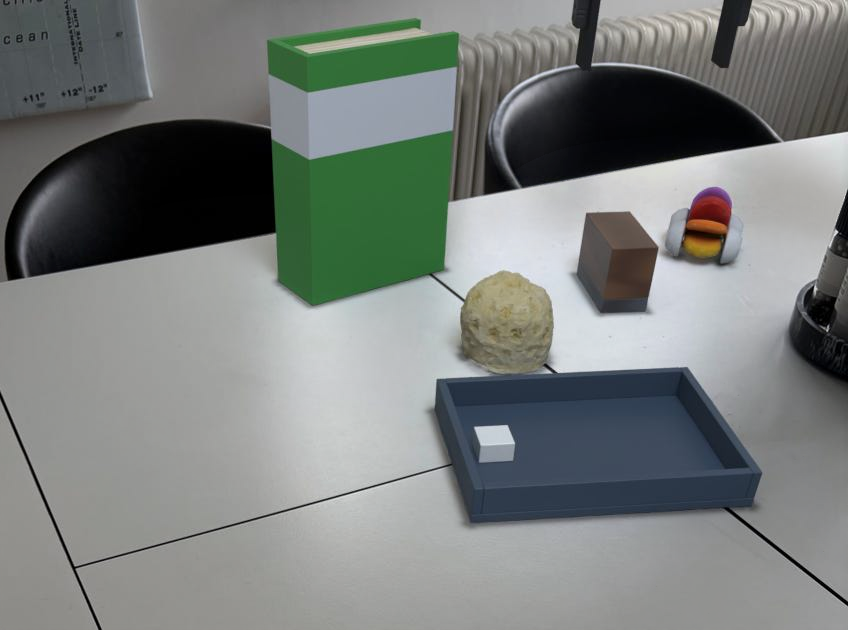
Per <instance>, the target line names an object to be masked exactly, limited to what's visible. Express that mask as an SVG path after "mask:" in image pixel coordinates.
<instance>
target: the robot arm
mask: <svg viewBox="0 0 848 630" xmlns="http://www.w3.org/2000/svg"><path fill="white" fill-rule="evenodd" d="M601 1H602V0H573V3H572V12H571V17H570V18H571V23H572V24H571V25H572V26H573V27H574V28H575V29H576V30H579V32H578V41H577V48H576V54H575V62H574V63H575V64H576V66H578V68H579V69H580V70H582V71H583V72H585V71H586V72H588V71H589V72H590V71H591V70H592V65H593V57H594V49H595V42H596V35H597V29H598V23H599V15H600V14H599V13H600V9H601ZM752 4H753V0H723V1H722V6H721V12H720V14H719V15H720V16H719V22H718V25H717V30H716V34H715V39H714V44H713V49H712V53H711V57H710V58H711V59H710V62H711V63H712V64H714V65H716V66H717V67H719V68H720V69H729V67H730V63H731V58H732V54H733V50H734V46H735V40H736V36H737V31H738V27H745V26H746V24H747V22H748V20H749V17H750V12H751V8H752Z"/></svg>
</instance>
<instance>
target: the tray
mask: <svg viewBox="0 0 848 630" xmlns="http://www.w3.org/2000/svg"><path fill="white" fill-rule="evenodd" d="M434 413H435V416H436V419H437V422H438V425H439V428H440V432H441V435H442V438H443V441H444V444H445V447H446V450H447V453H448V456H449V459H450V463H451V466H452V469H453V472H454V475H455V478H456V482H457V485H458V487H459V490H460V493H461V497H462V500H463V502H464V505H465V509H466V512H467V516H468V519H469V521H470V523H471V524H477V523H494V522H508V521H509V522H510V521H524V520H525V521H527V520H541V519H556V518H557V519H559V518H560V519H561V518H573V517H575V518H577V517H591V516H592V517H593V516H605V515H622V514H624V515H625V514H639V513H657V512H671V511H672V512H673V511H674V512H675V511H689V510H704V509H705V510H706V509H721V508H737V507H738V508H739V507H752V506H753V504H754V501H755V497H756V494H757V492H758V488H759V485H760V482H761V478H762V476H763V471H762V469H761V468H760V467H759V465H758V464H757V462H756V461H755V460H754V458H753V457H752V455H751V454H750V453H749V450H747V448H746V447H745V446H744V443H742V441H741V439H740V438H739V437H738V436H737V434H736V433H735V431H734V430H733V429H732V427H731V426H730V424H729V423H728V422H727V420H726V419H725V418H724V416H723V415H722V414H721V412H720V410H719V409H718V408H717V406H716V405H715V403H714V401H712V399H711V398H710V396H709V395H708V394H707V392H706V390H705V389H704V388H703V387H702V385H701V384H700V383H699V381H698V380H697V378H696V377H695V376H694V374H693V373H692V371H691V370H690V368H689V367H688V366H680V367H679V366H674V367H658V368H657V367H655V368H633V369H631V368H630V369H612V370H609V369H608V370H593V371H590V370H589V371H570V372H569V371H568V372H551V373H550V372H548V373H547V372H546V373H528V374H525V373H524V374H502V375H486V376H484V375H483V376H466V377H465V376H463V377H461V376H460V377H445V378H436V383H435V397H434ZM499 425H508V427H509V430H510V432H511V434H512V437H513V439H514V442H515V450H514V457H513V461H505V462H487V463H479V462H478V459H477V456H476V453H475V450H474V448H473V445H472V441H473V431H474V427H480V426H499Z"/></svg>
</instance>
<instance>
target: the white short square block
mask: <svg viewBox="0 0 848 630" xmlns="http://www.w3.org/2000/svg"><path fill="white" fill-rule="evenodd" d="M472 445H473V448H474V450H475V453H476V456H477V459H478V462H479V463H487V462H505V461H513V457H514V450H515V442H514V439H513V437H512V434H511V432H510V430H509V427H508V425H499V426H480V427H474V431H473V441H472Z"/></svg>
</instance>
